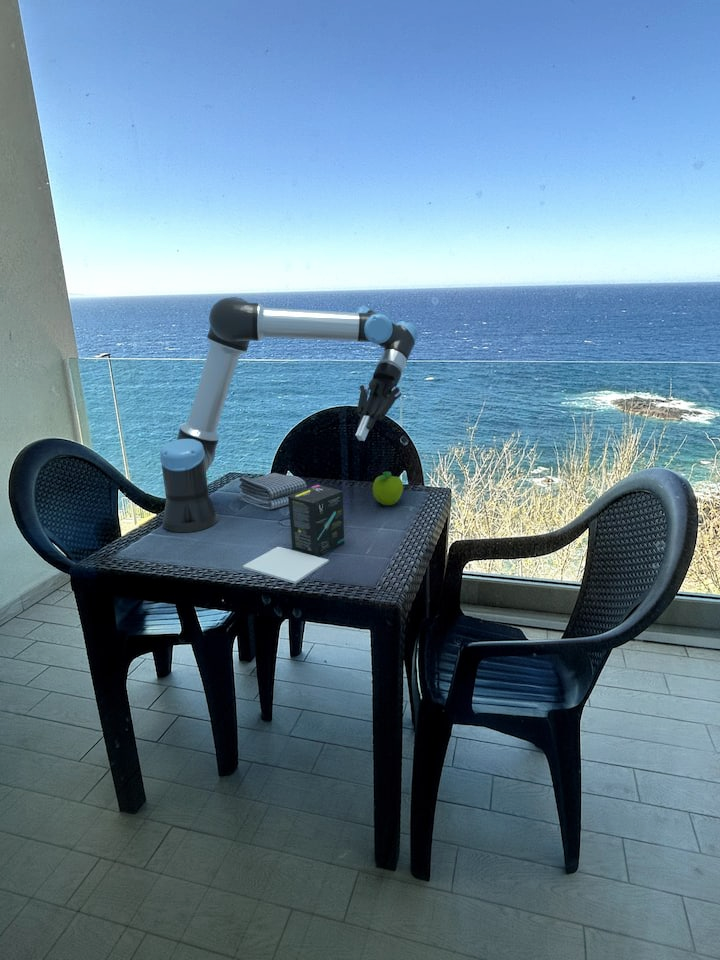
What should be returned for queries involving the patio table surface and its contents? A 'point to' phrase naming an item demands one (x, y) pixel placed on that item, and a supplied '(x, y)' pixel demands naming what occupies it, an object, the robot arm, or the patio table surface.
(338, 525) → the tampon box
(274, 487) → the towel
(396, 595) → the patio table surface
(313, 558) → the mat
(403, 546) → the patio table surface
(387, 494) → the fruit
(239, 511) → the patio table surface
